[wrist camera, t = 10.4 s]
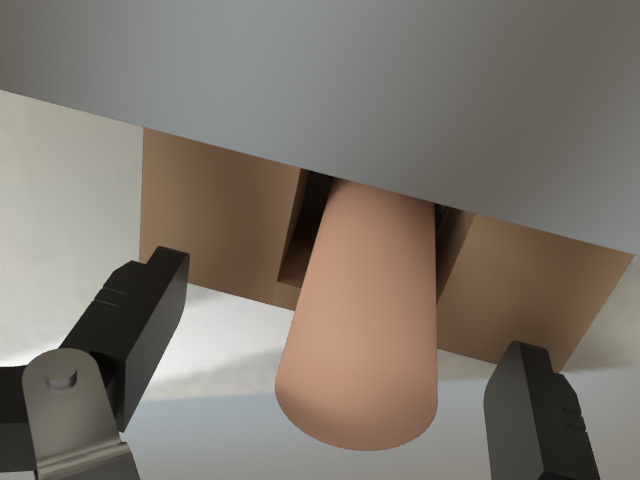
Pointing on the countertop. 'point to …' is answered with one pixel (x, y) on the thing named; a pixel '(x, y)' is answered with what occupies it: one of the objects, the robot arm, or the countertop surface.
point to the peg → (365, 323)
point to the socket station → (370, 138)
